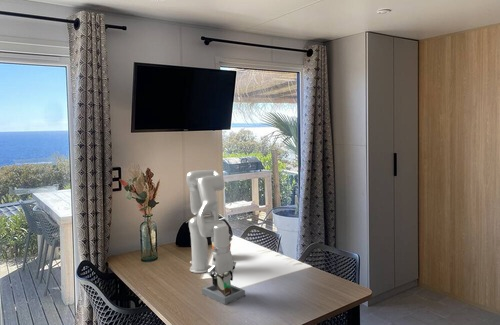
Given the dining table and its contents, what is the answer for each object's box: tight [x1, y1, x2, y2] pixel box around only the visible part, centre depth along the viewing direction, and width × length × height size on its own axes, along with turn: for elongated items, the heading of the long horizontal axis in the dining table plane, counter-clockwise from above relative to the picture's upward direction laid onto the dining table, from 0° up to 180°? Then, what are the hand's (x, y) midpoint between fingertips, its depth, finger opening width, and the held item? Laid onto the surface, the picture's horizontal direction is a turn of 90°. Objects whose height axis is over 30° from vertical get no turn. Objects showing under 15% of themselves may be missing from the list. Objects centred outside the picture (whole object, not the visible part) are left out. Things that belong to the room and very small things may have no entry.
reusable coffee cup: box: [210, 233, 232, 251], centre depth 258 cm, size 13×12×15 cm
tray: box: [201, 283, 246, 306], centre depth 204 cm, size 18×13×3 cm
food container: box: [215, 271, 232, 297], centre depth 204 cm, size 12×6×10 cm, turn 27°
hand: (222, 282), depth 203 cm, fingers open, 9 cm apart
